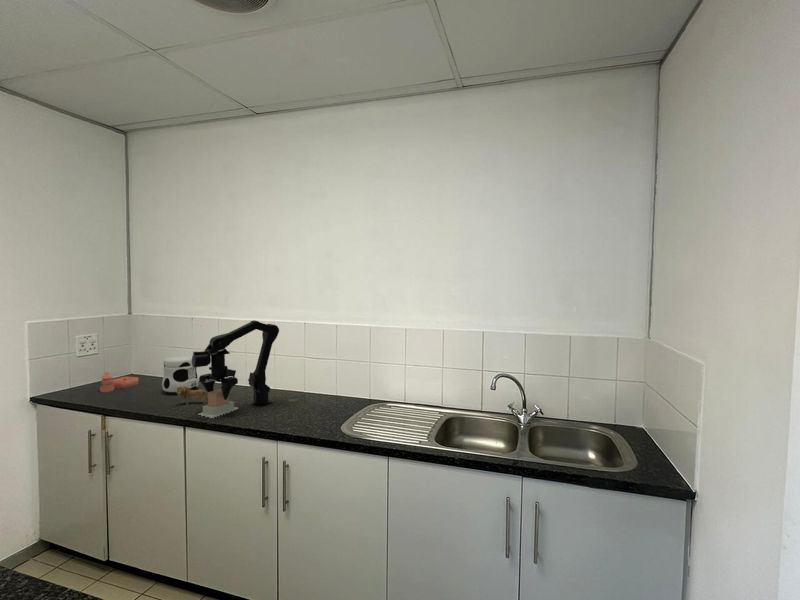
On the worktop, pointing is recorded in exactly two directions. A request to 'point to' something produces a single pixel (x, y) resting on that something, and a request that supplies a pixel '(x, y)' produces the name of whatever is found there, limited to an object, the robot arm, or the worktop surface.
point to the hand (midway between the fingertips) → (218, 398)
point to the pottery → (117, 382)
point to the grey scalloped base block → (217, 410)
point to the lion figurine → (191, 393)
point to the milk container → (179, 374)
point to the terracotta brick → (216, 398)
